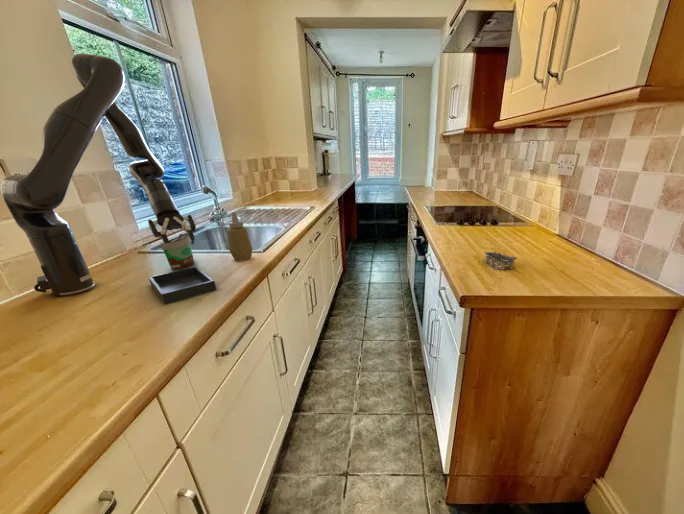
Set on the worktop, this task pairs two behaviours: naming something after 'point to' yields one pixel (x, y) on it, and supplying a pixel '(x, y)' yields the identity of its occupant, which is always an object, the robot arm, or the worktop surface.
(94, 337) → the worktop surface
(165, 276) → the tray
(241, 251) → the squeeze bottle
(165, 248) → the food container
